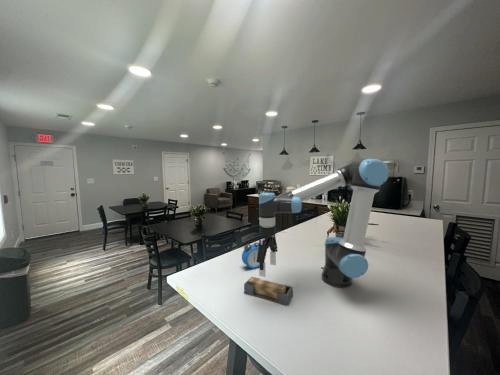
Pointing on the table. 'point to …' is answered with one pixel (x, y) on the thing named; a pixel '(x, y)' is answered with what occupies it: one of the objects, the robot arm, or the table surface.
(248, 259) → the alarm clock
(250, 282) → the long wooden block
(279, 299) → the gray cradle tray
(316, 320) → the table surface
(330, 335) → the table surface
